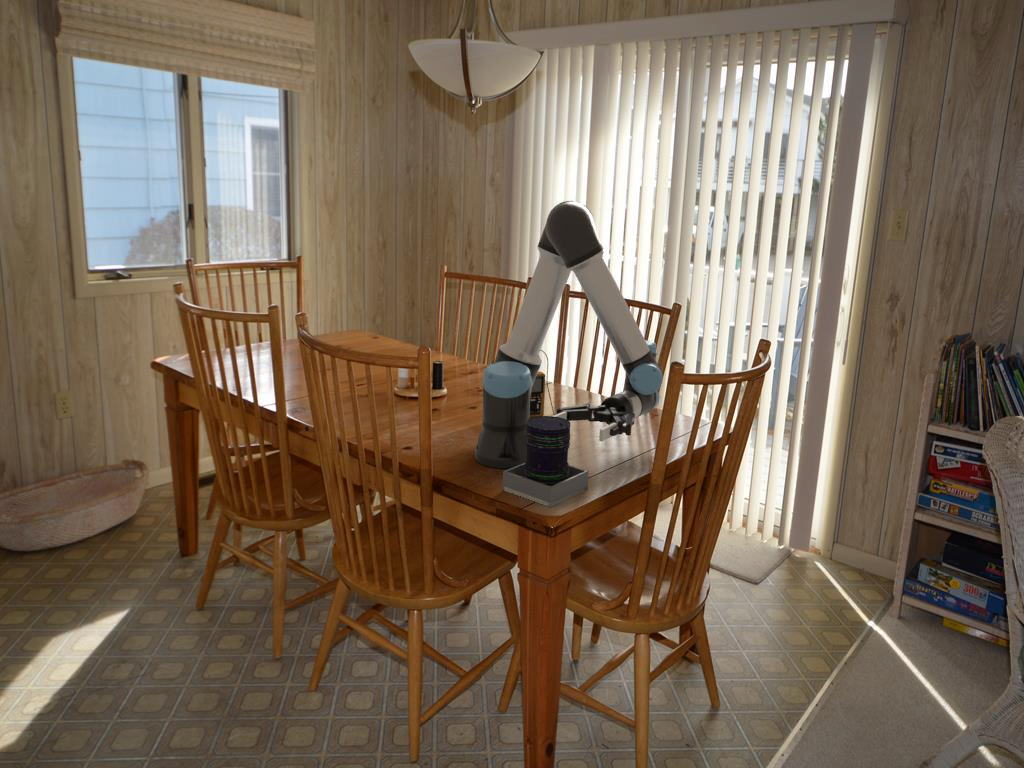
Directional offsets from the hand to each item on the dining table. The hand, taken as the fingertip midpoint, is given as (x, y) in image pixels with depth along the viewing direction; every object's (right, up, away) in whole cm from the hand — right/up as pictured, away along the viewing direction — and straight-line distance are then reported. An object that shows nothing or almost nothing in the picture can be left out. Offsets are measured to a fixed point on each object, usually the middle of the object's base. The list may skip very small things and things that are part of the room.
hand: (574, 429), depth 178 cm
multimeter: (-8, 0, +48) cm, 49 cm away
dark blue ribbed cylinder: (-7, -13, -3) cm, 15 cm away
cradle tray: (-7, -13, -2) cm, 15 cm away
